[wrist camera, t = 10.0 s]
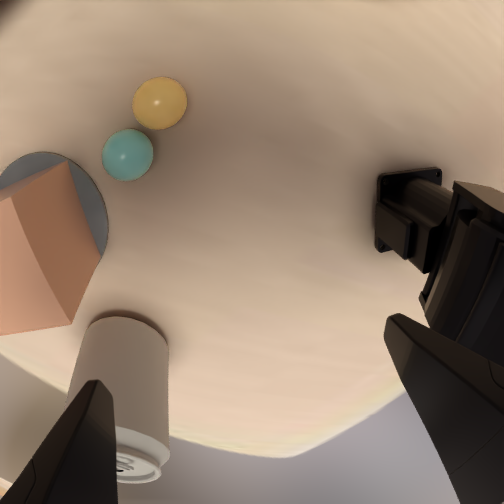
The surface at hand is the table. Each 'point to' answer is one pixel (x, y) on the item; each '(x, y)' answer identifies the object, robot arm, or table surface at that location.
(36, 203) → the peach beveled cube
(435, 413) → the robot arm
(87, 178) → the coaster
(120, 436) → the can
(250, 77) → the table surface
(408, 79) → the table surface
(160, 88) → the marble amber
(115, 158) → the marble teal
